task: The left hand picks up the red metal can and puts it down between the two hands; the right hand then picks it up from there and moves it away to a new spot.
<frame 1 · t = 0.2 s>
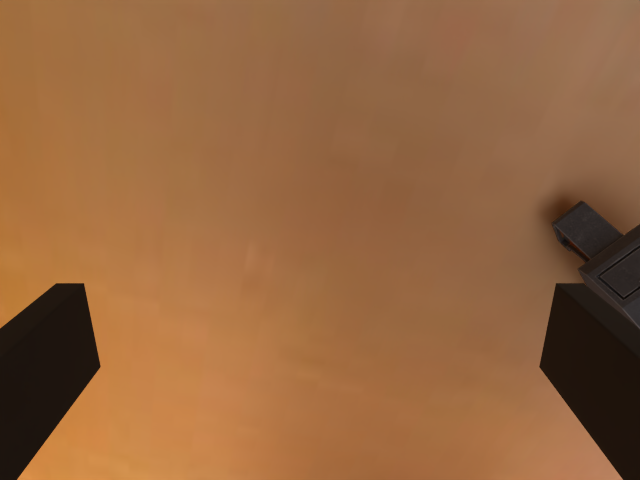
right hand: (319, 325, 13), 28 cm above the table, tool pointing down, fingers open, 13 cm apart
tool: (609, 278, 43), on the table
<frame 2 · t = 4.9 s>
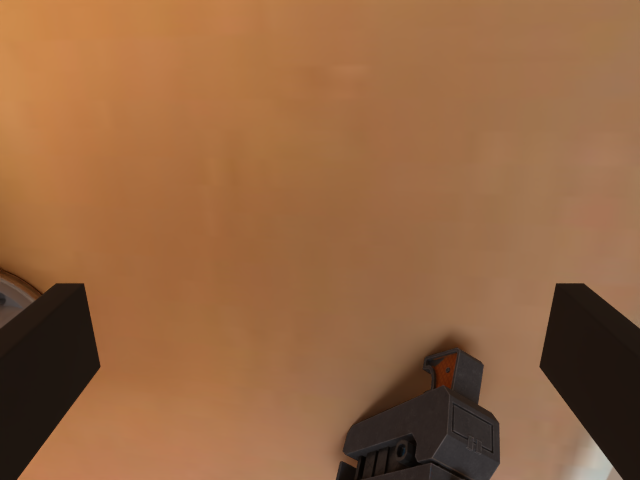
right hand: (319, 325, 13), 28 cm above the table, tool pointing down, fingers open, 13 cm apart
tool: (397, 407, 48), on the table
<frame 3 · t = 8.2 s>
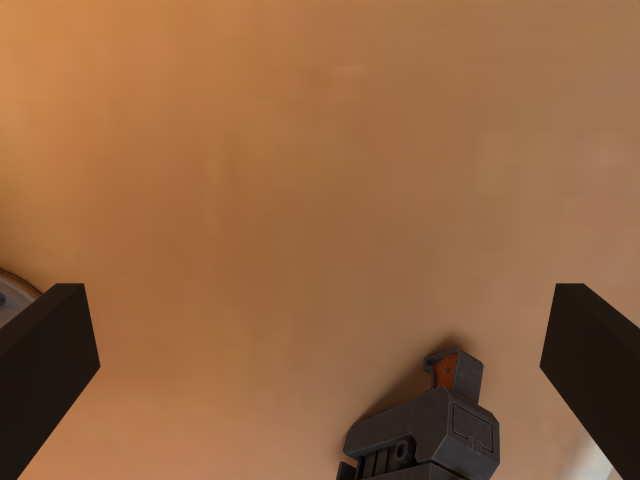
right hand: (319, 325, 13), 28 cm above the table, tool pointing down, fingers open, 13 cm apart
tool: (397, 407, 48), on the table
when the left hand's fingers open (3 cm above the table, at t = 11.6 s): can stays where it is, on the table.
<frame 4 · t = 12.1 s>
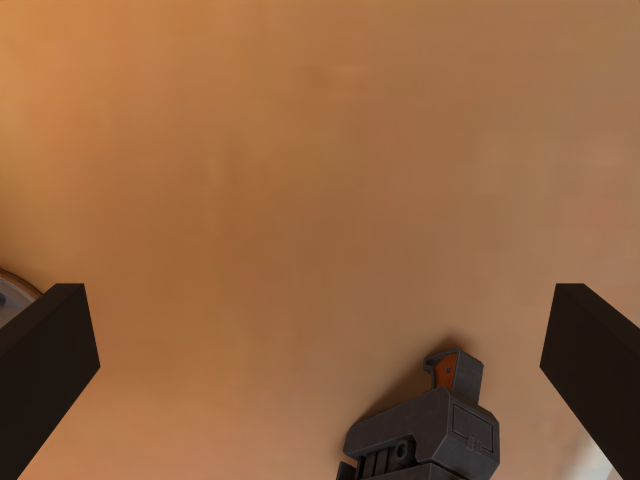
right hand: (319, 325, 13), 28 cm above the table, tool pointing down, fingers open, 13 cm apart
tool: (397, 407, 48), on the table
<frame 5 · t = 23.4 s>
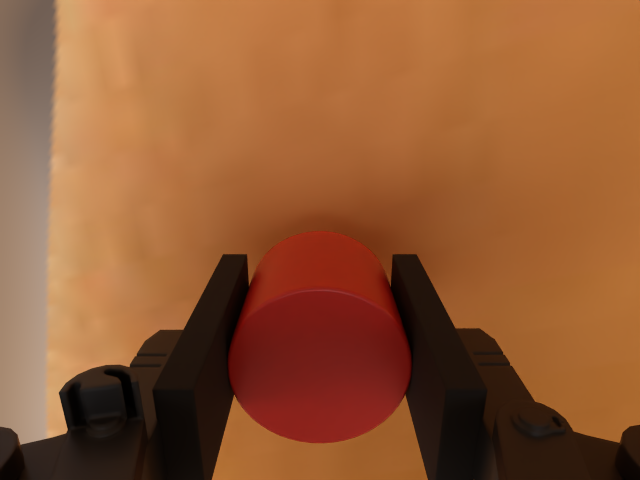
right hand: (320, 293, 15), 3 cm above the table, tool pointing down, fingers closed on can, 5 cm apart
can: (319, 295, 15), point 3 cm above the table, touching right hand
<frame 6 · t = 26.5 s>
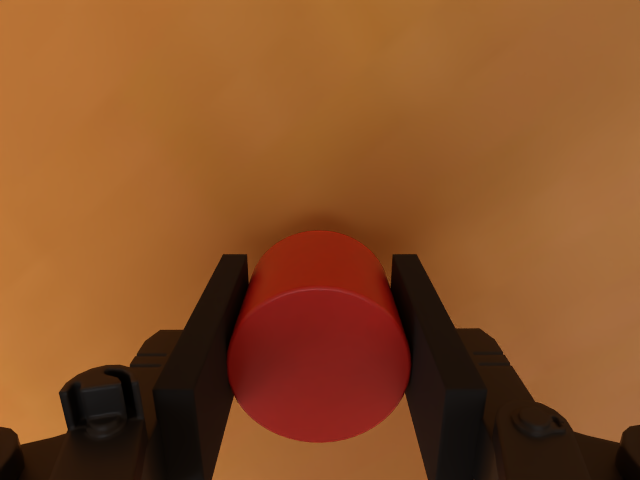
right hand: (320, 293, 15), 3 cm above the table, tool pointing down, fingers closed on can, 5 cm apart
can: (319, 295, 15), point 3 cm above the table, touching right hand
when the right hand's fingers open (0 cm above the table, at t = 30.0 s): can stays where it is, on the table.
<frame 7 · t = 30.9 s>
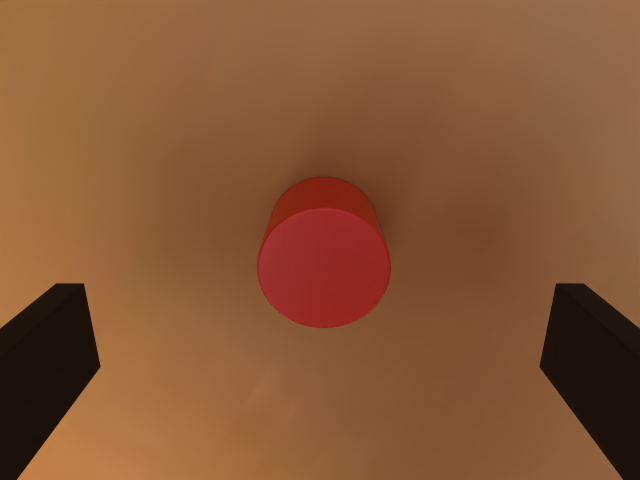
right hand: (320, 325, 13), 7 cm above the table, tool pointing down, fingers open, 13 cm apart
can: (323, 229, 19), on the table
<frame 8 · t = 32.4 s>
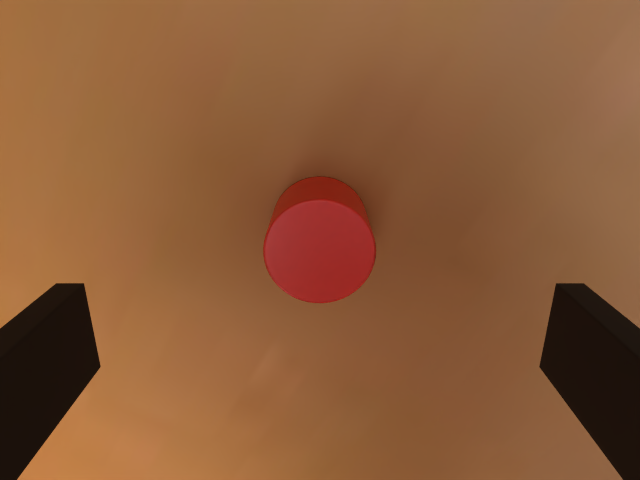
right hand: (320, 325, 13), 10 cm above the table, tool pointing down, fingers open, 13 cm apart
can: (319, 222, 22), on the table
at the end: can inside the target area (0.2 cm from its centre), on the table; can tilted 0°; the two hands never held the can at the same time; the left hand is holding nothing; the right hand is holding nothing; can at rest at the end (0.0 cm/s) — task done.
